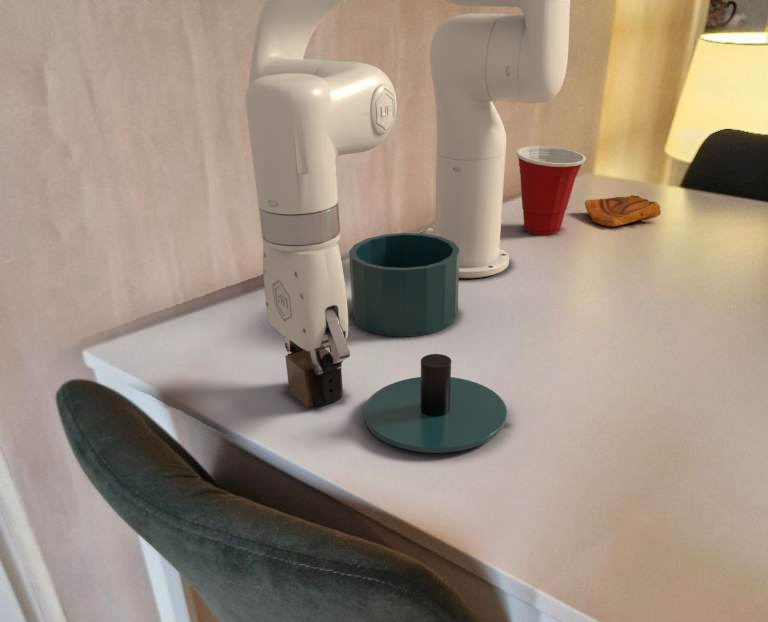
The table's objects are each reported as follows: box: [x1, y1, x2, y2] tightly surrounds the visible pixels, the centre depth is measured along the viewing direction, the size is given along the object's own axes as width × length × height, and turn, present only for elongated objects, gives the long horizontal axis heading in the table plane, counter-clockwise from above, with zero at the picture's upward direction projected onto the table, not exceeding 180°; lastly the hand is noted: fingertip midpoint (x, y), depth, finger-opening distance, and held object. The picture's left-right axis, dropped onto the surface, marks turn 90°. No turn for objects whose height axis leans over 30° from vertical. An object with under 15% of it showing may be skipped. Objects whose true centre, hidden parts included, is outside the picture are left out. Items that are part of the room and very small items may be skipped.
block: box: [284, 348, 344, 409], centre depth 83 cm, size 4×4×4 cm
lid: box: [364, 353, 508, 454], centre depth 77 cm, size 15×15×7 cm
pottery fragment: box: [584, 194, 662, 227], centre depth 129 cm, size 10×5×10 cm
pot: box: [348, 232, 460, 338], centre depth 98 cm, size 14×14×8 cm
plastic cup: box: [516, 145, 587, 236], centre depth 123 cm, size 11×11×12 cm
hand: (315, 391), depth 84 cm, fingers closed on block, 4 cm apart
